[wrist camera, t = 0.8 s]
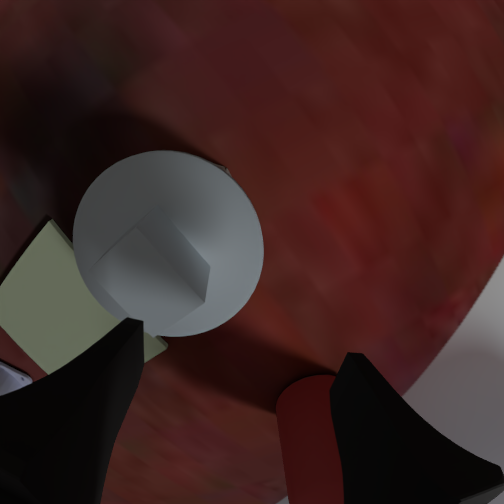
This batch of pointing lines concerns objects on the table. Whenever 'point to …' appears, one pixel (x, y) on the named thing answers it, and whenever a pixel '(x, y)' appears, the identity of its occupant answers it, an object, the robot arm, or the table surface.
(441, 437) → the robot arm
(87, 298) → the mat
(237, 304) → the lid
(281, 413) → the beer can
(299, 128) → the table surface
